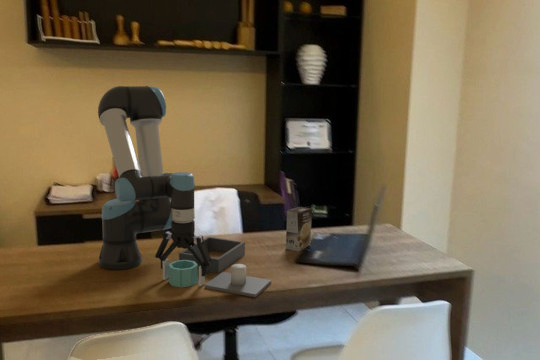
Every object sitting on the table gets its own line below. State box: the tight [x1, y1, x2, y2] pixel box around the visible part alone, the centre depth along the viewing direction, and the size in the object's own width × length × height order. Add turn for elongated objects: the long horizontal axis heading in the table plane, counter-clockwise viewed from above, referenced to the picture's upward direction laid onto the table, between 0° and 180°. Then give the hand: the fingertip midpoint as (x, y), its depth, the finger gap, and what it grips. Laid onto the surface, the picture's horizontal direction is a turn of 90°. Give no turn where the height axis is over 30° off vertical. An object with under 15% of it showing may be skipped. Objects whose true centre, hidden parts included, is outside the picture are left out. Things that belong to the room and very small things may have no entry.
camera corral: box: [178, 236, 246, 274], centre depth 198 cm, size 16×22×5 cm
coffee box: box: [285, 206, 313, 252], centre depth 214 cm, size 9×6×16 cm
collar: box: [168, 259, 199, 288], centre depth 177 cm, size 9×9×6 cm
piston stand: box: [204, 263, 272, 298], centre depth 175 cm, size 18×13×6 cm
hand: (183, 281), depth 177 cm, fingers open, 13 cm apart
